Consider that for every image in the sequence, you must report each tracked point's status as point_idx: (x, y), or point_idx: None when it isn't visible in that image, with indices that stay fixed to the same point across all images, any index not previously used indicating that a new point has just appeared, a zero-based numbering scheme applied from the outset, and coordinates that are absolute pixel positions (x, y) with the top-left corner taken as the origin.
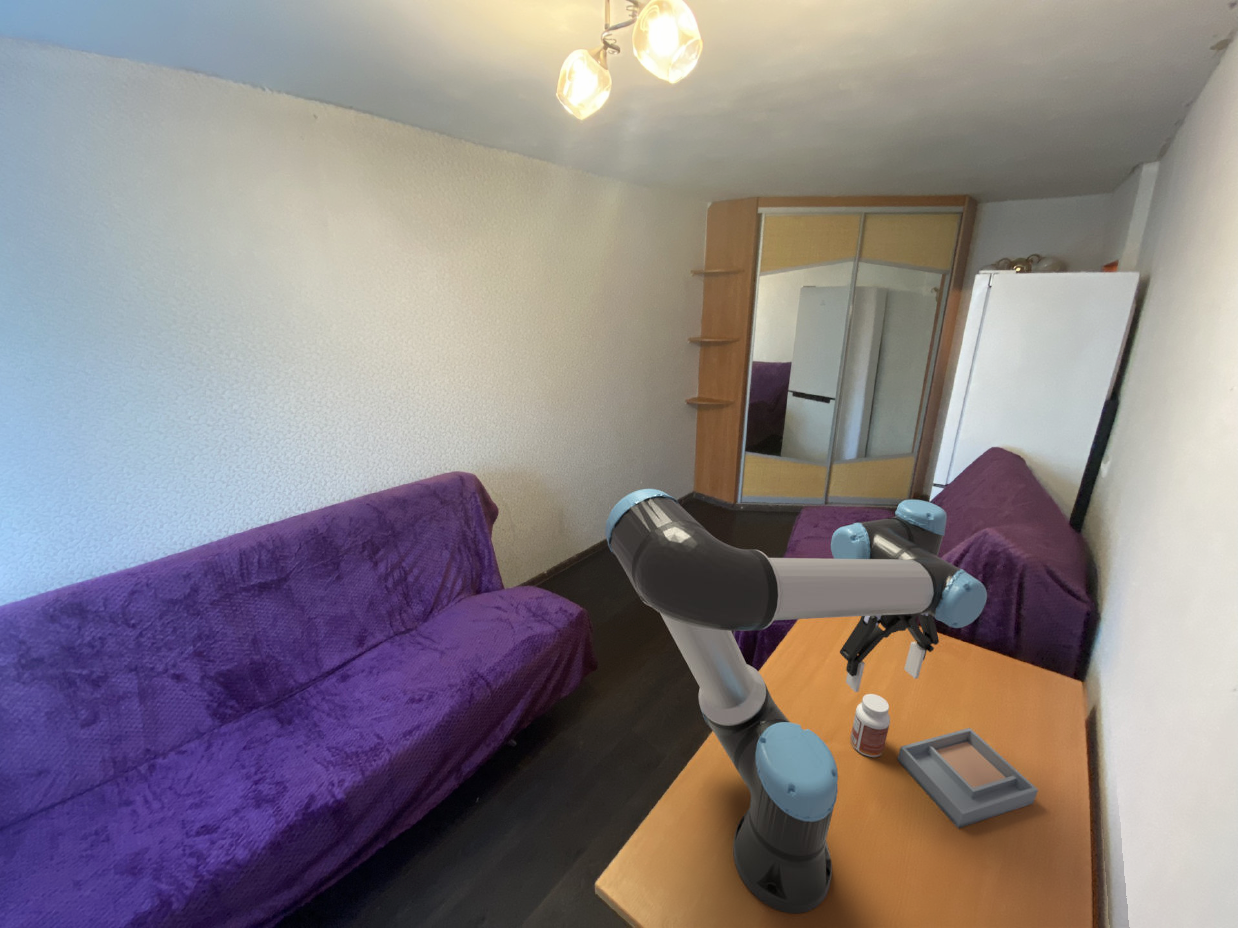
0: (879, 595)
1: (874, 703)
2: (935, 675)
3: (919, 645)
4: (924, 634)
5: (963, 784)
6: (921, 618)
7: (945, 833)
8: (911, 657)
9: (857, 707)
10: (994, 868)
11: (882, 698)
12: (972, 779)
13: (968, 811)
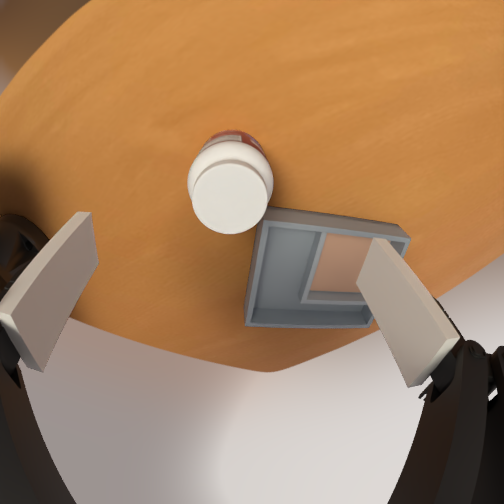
0: None
1: (222, 202)
2: (480, 120)
3: (441, 364)
4: (496, 374)
5: (303, 287)
6: (499, 501)
7: (222, 305)
8: (399, 302)
9: (203, 155)
10: (239, 339)
11: (264, 196)
12: (330, 278)
13: (256, 325)
